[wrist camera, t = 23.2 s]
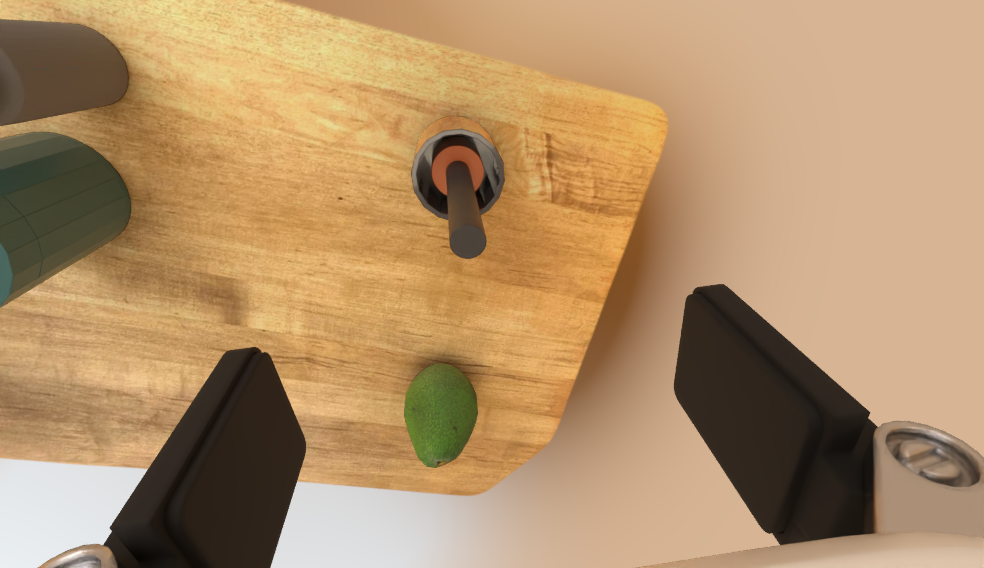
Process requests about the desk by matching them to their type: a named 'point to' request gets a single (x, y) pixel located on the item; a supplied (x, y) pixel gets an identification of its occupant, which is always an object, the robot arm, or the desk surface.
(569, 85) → the desk surface
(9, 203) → the jar
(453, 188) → the rod with orange collar
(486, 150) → the holder
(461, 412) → the fruit
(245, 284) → the desk surface
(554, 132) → the desk surface
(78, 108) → the bottle
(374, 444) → the desk surface
